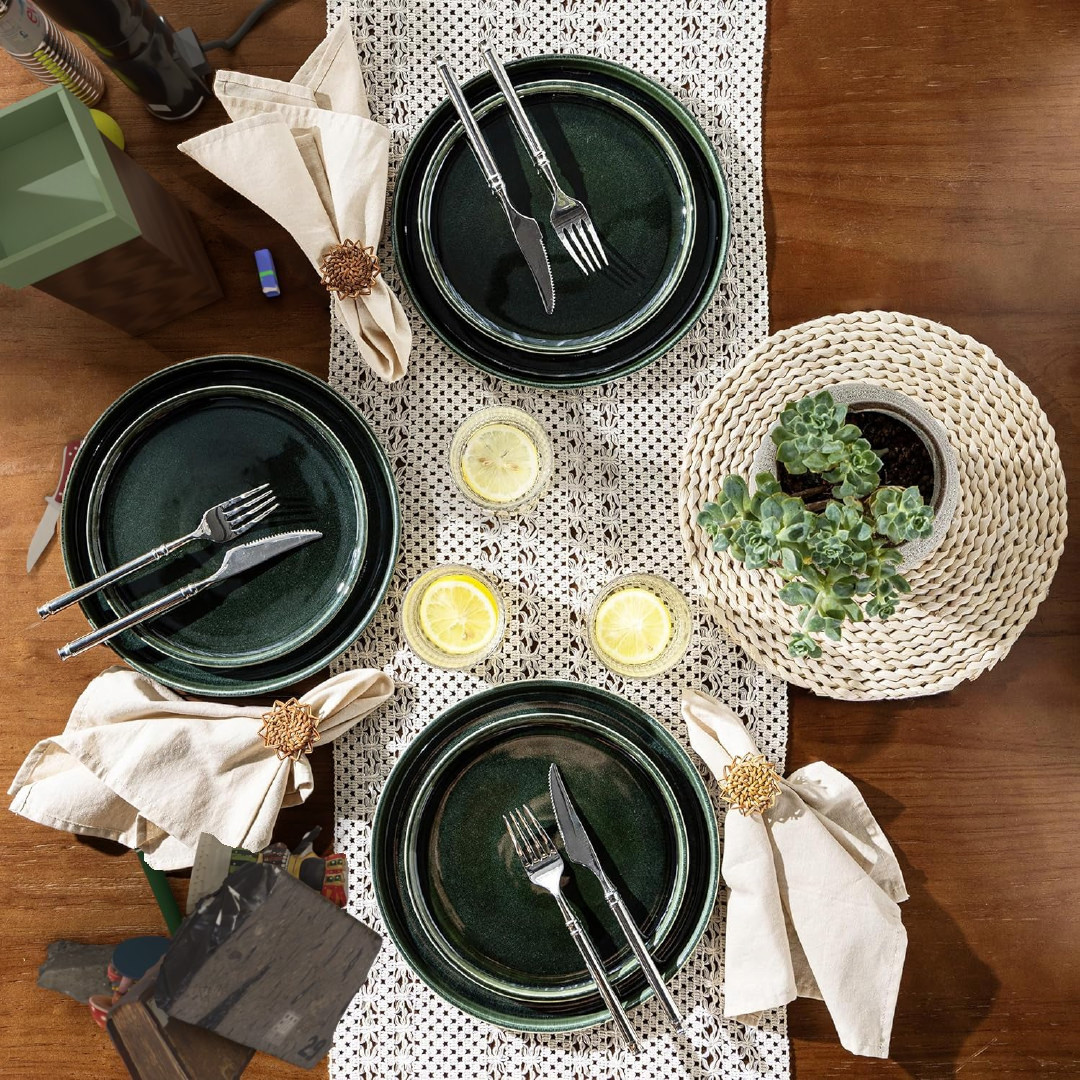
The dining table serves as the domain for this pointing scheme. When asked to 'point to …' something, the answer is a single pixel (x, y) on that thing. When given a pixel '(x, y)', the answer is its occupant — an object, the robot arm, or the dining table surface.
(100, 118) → the ornament
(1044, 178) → the dining table surface
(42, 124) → the open bin
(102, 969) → the stone
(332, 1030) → the stone slab
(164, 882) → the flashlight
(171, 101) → the robot arm
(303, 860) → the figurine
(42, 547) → the knife
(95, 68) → the water bottle
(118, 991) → the figurine
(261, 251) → the eraser
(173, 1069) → the book
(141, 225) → the bin stand
